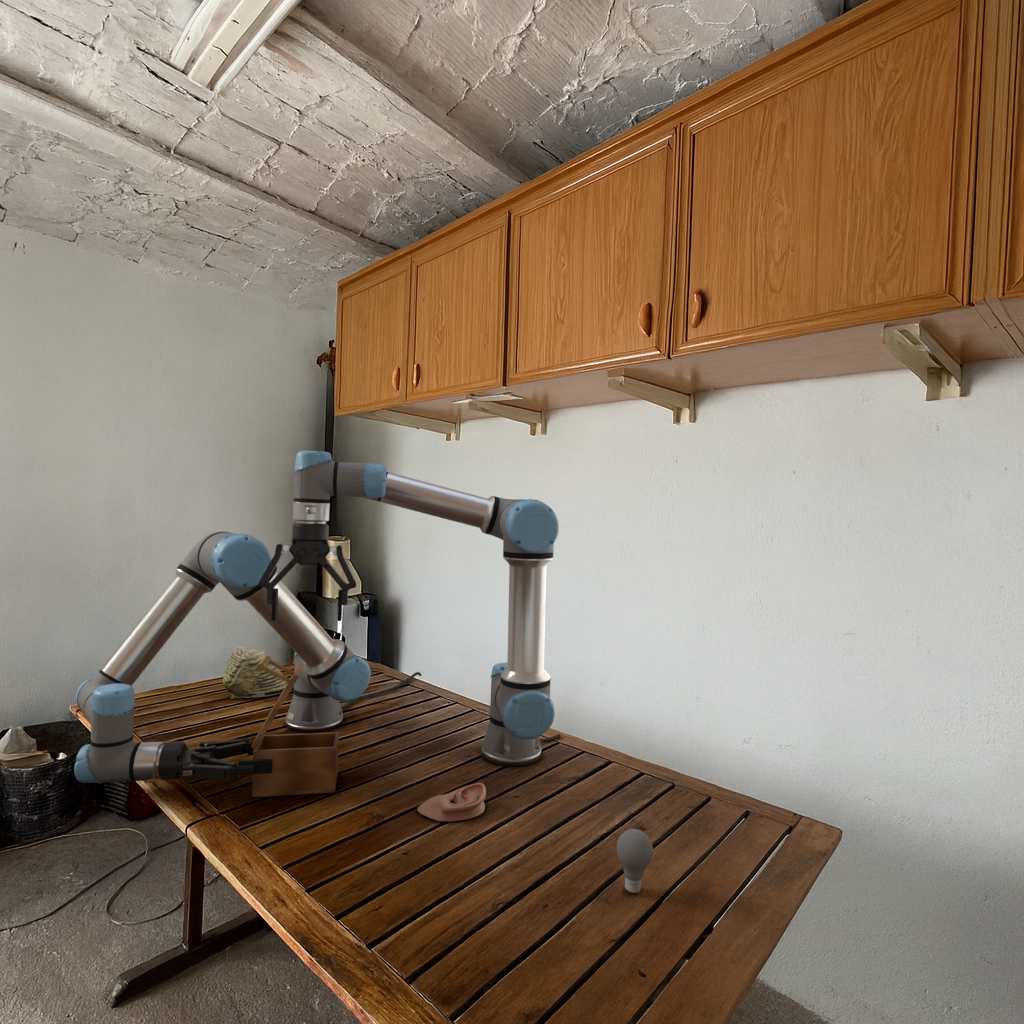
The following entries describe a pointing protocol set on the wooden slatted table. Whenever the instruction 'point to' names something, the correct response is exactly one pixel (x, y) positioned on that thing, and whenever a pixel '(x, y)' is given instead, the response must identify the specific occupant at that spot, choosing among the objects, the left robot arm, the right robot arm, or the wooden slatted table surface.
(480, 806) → the anatomical model
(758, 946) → the wooden slatted table surface
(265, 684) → the fossil
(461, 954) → the wooden slatted table surface
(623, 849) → the light bulb
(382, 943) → the wooden slatted table surface
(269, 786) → the chest
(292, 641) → the left robot arm
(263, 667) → the lid
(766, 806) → the wooden slatted table surface
